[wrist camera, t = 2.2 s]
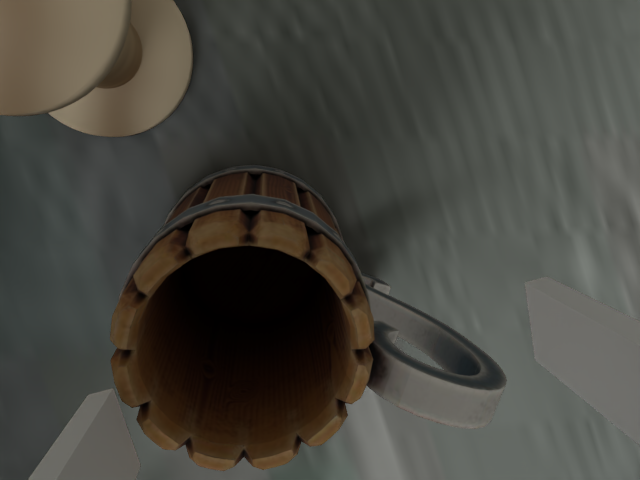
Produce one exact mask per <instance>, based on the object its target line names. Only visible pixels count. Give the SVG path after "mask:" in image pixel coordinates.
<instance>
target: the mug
mask: <svg viewBox="0 0 640 480" xmlns="http://www.w3.org/2000/svg"><path fill="white" fill-rule="evenodd" d="M390 288H391V286H389V285H388V284H387V283H385V282H384V281H382V280H380V279H378V278H375V277H373V276H370V275H367V274H364V273H361V271H360V269H359V267H358V265H357V262H356V260H355V258H354V256H353V255H352V253H351V252H350V251H349V249H348V248H347V246H346V245H345V243H344V240H343V237H342V234H341V231H340V229H339V226H338V223H337V220H336V218H335V216H334V214H333V212H332V211H331V209H330V208H329V207H328V205H327V204H326V202H325V201H324V199H323V198H322V196H321V195H320V194H319V193H318V192H316V191H315V190H314V189H313V188H312V187H310V186H309V185H308V184H307V183H306V182H305V181H303V180H302V179H300V178H298V177H296V176H294V175H292V174H289V173H287V172H285V171H283V170H281V169H276V168H271V167H265V166H259V165H248V166H237V167H230V168H227V169H224V170H222V171H219V172H216V173H213V174H211V175H208V176H206V177H205V178H204V179H202V180H201V181H199V182H198V183H197V184H195V185H194V186H192V187H191V188H189V189H188V190H187V191H186V192H185V194H184V195H183V196H182V197H181V199H180V200H179V201H178V202H177V204H176V205H175V206H174V207H173V209H172V210H171V211H170V213H169V214H168V216H167V219H166V221H165V223H164V226H163V227H162V228H161V229H160V230H159V231H158V233H157V234H156V235H155V236H154V238H153V239H152V240H151V241H150V242H149V244H148V245H147V246H146V247H145V249H144V250H143V251H142V252H141V254H140V255H139V257H138V258H137V259H136V261H135V262H134V264H133V265H132V267H131V269H130V272H129V274H128V276H127V279H126V281H125V284H124V286H123V288H122V291H121V293H120V295H119V301H118V304H117V307H116V309H115V311H114V313H113V316H112V323H111V333H110V340H111V341H112V343H113V344H114V345H115V346H116V347H117V349H116V351H115V353H114V355H113V357H112V359H111V366H112V371H113V377H114V383H115V385H116V388H117V390H118V393H119V395H120V398H121V400H122V402H124V403H125V404H127V405H129V406H130V407H132V408H133V407H138V406H140V409H139V413H138V416H137V419H136V420H137V421H138V423H139V425H140V427H141V429H142V430H143V432H144V434H145V435H147V436H148V437H149V438H150V439H151V440H152V441H153V442H154V443H156V444H157V445H158V446H160V447H161V448H162V449H166V450H176V449H178V448H180V447H182V446H183V445H185V444H186V447H187V451H188V454H189V457H190V458H191V459H192V460H193V461H194V462H195V463H196V464H197V465H198V466H201V467H205V468H209V469H213V470H220V471H225V470H227V469H230V468H232V467H234V466H235V465H236V464H237V463H238V462H239V461H240V460H241V459H242V458H243V457H245V458H246V459H247V460H248V461H249V463H250V464H251V465H252V466H254V467H257V468H259V469H262V470H264V469H269V468H273V467H277V466H280V465H283V464H287V463H288V462H289V461H290V460H291V459H292V458H294V457H295V456H296V455H297V454H298V451H299V448H300V444H301V441H302V442H304V443H305V444H307V445H309V446H318V445H322V444H323V443H324V442H326V441H327V440H328V439H329V438H331V437H332V436H333V435H334V434H335V433H336V432H337V431H338V430H339V429H340V427H341V426H342V424H343V422H344V421H345V419H346V418H347V416H348V414H347V410H346V406H345V403H349V404H352V403H354V402H355V401H357V400H358V399H360V398H361V396H362V394H363V392H364V390H365V387H366V385H367V386H368V387H369V388H370V389H371V390H373V391H374V392H375V393H377V394H378V395H379V396H381V397H382V398H384V399H385V400H387V401H389V402H390V403H392V404H394V405H395V406H397V407H399V408H401V409H403V410H406V411H408V412H410V413H412V414H414V415H416V416H419V417H422V418H425V419H428V420H431V421H434V422H437V423H440V424H445V425H449V426H453V427H458V428H470V429H476V428H481V427H485V426H486V425H488V424H489V423H490V422H491V420H492V417H493V415H494V412H495V410H496V407H497V405H498V403H499V400H500V398H501V395H502V393H503V390H504V388H505V385H506V381H507V380H506V376H505V374H504V372H503V370H502V369H501V368H500V367H499V365H498V364H497V363H496V362H495V361H494V360H493V359H492V358H491V357H490V356H488V355H487V354H486V353H485V352H484V351H482V350H481V349H480V348H479V347H477V346H476V345H475V344H473V343H472V342H471V341H469V340H468V339H467V338H465V337H464V336H462V335H461V334H460V333H458V332H457V331H455V330H454V329H452V328H450V327H449V326H447V325H446V324H444V323H442V322H440V321H439V320H437V319H435V318H433V317H431V316H429V315H428V314H426V313H424V312H422V311H420V310H418V309H416V308H414V307H412V306H410V305H408V304H406V303H404V302H402V301H400V300H397V299H395V298H393V297H391V296H389V295H388V294H389V291H390ZM397 336H398V337H400V338H402V339H403V340H405V341H407V342H408V343H410V344H412V345H413V346H415V347H416V348H418V349H419V350H421V351H422V352H424V353H425V354H426V355H428V356H429V357H430V358H432V359H433V360H434V361H435V362H436V363H438V364H439V365H440V366H441V367H442V368H443V369H444V370H445V371H444V370H441V369H438V368H435V367H432V366H429V365H427V364H425V363H422V362H420V361H418V360H416V359H414V358H412V357H410V356H409V355H407V354H405V353H404V352H402V351H401V350H400V349H398V348H397V347H396V346H395V345H394V344H395V341H396V339H397Z"/></svg>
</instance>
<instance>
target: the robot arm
mask: <svg viewBox="0 0 640 480" xmlns="http://www.w3.org/2000/svg"><path fill="white" fill-rule="evenodd" d="M524 283H525V290H526V297H527V304H528V312H529V319H530V326H531V334H532V341H533V348H534V356H535V360H536V361H537V362H538V363H539V364H540V365H542V366H543V367H544V368H545V369H547V370H548V371H549V372H550V373H551V374H553V375H554V376H555V377H556V378H558V379H559V380H560V381H561V382H562V383H564V384H565V385H566V386H567V387H569V388H570V389H571V390H572V391H573V392H575V393H576V394H577V395H578V396H580V397H581V398H582V399H583V400H584V401H586V402H587V403H588V404H589V405H591V406H592V407H593V408H594V409H595V410H597V411H598V412H599V413H600V414H601V415H603V416H604V417H605V418H606V419H608V420H609V421H610V422H611V423H612V424H614V425H615V426H616V427H617V428H619V429H620V430H621V431H622V432H623V433H625V434H626V435H627V436H628V437H630V438H631V439H632V440H633V441H634V442H636V443H637V444H638V445H639V446H640V321H638V320H636V319H634V318H632V317H630V316H628V315H626V314H624V313H622V312H620V311H617V310H615V309H613V308H611V307H609V306H607V305H605V304H603V303H601V302H599V301H597V300H595V299H593V298H591V297H589V296H587V295H584V294H582V293H580V292H578V291H576V290H574V289H572V288H570V287H568V286H566V285H564V284H562V283H560V282H558V281H556V280H553V279H551V278H549V277H543V278H539V279H536V280H532V281H528V282H524ZM140 467H141V464H140V461H139V459H138V456H137V453H136V450H135V447H134V445H133V442H132V439H131V436H130V433H129V431H128V428H127V425H126V422H125V420H124V417H123V414H122V411H121V408H120V406H119V403H118V400H117V397H116V394H115V392H114V389H113V388H112V389H108V390H104V391H101V392H97V393H93V394H89V395H87V397H86V398H85V400H84V401H83V403H82V404H81V405H80V407H79V408H78V410H77V411H76V412H75V414H74V415H73V417H72V418H71V419H70V421H69V422H68V424H67V425H66V426H65V428H64V429H63V431H62V432H61V434H60V435H59V436H58V438H57V439H56V441H55V442H54V443H53V445H52V446H51V448H50V449H49V450H48V452H47V453H46V455H45V456H44V458H43V459H42V460H41V462H40V463H39V465H38V466H37V467H36V469H35V470H34V472H33V473H32V474H31V476H30V477H29V479H28V480H136V477H137V474H138V472H139V469H140Z"/></svg>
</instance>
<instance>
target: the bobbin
mask: <svg viewBox="0 0 640 480" xmlns="http://www.w3.org/2000/svg"><path fill="white" fill-rule="evenodd" d="M192 70H193V46H192V41H191V36H190V33H189V30H188V27H187V24H186V22H185V20H184V18H183V16H182V13H181V12H180V10H179V9H178V7H177V5H176V4H175V2H174V1H173V0H0V115H6V116H32V115H39V114H45V113H48V114H50V115H51V116H52V117H53V118H55V119H56V120H58V121H59V122H61V123H63V124H65V125H67V126H68V127H70V128H72V129H75V130H78V131H80V132H83V133H87V134H91V135H96V136H106V137H124V136H131V135H136V134H139V133H142V132H145V131H147V130H150V129H152V128H154V127H155V126H157V125H159V124H160V123H162V122H163V121H164V120H165V119H167V118H168V117H169V116H170V115H171V114H172V113H173V112H174V111H175V110H176V108H177V107H178V106H179V104H180V103H181V101H182V100H183V98H184V96H185V94H186V92H187V90H188V87H189V84H190V80H191V76H192Z"/></svg>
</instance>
